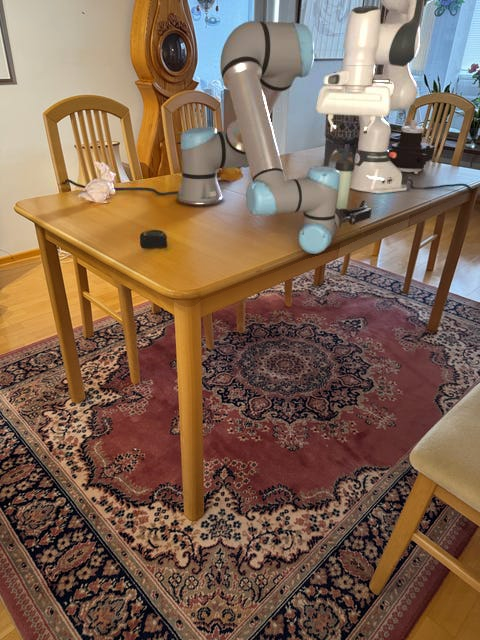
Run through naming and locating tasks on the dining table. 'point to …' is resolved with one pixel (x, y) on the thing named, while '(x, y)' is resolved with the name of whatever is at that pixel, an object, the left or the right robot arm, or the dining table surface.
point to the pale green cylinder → (343, 189)
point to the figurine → (99, 185)
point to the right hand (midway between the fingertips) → (349, 132)
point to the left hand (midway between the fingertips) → (340, 202)
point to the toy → (230, 174)
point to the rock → (341, 150)
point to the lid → (345, 165)
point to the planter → (342, 136)
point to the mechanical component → (411, 149)
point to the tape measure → (153, 239)
